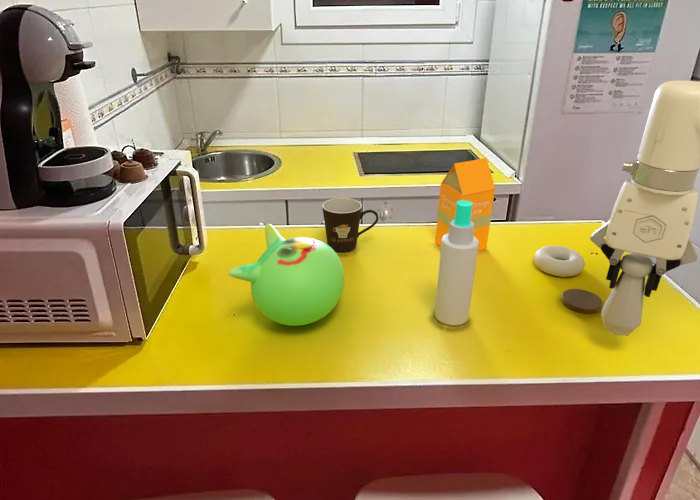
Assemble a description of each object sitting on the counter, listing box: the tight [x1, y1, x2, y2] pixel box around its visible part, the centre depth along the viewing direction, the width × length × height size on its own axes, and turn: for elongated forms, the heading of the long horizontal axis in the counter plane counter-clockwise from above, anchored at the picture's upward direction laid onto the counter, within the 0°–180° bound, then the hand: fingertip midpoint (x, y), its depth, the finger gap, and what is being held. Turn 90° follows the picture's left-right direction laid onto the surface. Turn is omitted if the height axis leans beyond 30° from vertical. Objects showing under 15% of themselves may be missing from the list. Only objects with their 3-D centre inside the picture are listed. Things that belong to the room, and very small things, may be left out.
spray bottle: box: [434, 200, 479, 327], centre depth 88 cm, size 6×6×22 cm
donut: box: [533, 245, 586, 278], centre depth 108 cm, size 10×4×10 cm
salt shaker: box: [600, 252, 654, 337], centre depth 80 cm, size 6×6×13 cm
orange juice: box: [434, 157, 496, 252], centre depth 113 cm, size 8×9×20 cm
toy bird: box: [228, 223, 345, 327], centre depth 90 cm, size 18×17×15 cm
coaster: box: [560, 288, 604, 315], centre depth 97 cm, size 7×7×1 cm
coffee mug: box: [321, 197, 379, 254], centre depth 114 cm, size 12×9×10 cm
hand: (629, 287), depth 80 cm, fingers closed on salt shaker, 4 cm apart
